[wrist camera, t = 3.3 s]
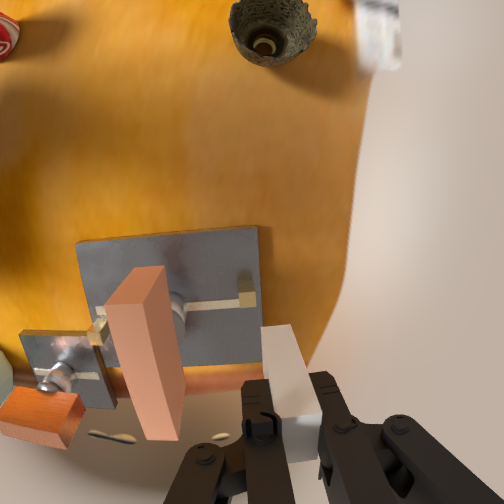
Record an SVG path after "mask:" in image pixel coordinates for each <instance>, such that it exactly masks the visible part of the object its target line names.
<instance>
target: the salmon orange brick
mask: <svg viewBox="0 0 504 504" xmlns="http://www.w3.org/2000/svg"><path fill="white" fill-rule="evenodd" d="M104 308H105V312H106V316H107V320H108V324H109V328H110V332H111V335H112V339H113V343H114V346H115V350H116V353H117V356H118V360H119V363H120V366H121V369H122V373H123V376H124V379H125V382H126V385H127V388H128V391H129V394H130V396H131V399H132V402H133V405H134V408H135V410H136V413H137V416H138V418H139V421H140V424H141V426H142V429H143V431H144V434H145V436H146V439H147V440H178V439H179V432H180V425H181V418H182V411H183V404H184V397H185V391H186V381H185V376H184V371H183V367H182V362H181V357H180V352H179V347H178V346H179V345H180V344H181V343H182V341H183V338H184V334H185V324H184V321H183V319H182V317H181V316H180V315H179V314H178V313H177V312H176V311H174V310H172V309H171V303H170V297H169V291H168V284H167V278H166V271H165V265H161V266H148V267H135V268H134V269H133V270H132V271H131V272H130V273H129V275H128V276H127V277H126V278H125V279H124V281H123V282H122V283H121V284H120V286H119V287H118V288H117V289H116V291H115V292H114V293H113V294H112V295H111V297H110V298H109V299H108V300H107V302H106V303H105V304H104Z"/></svg>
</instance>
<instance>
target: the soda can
mask: <svg viewBox="0 0 504 504" xmlns="http://www.w3.org/2000/svg"><path fill="white" fill-rule="evenodd" d="M19 32H20V28H19V24H18V22H17V21H15V20H14V19H12V18H10V17H8V16H7V15H5V14H3V13H1V12H0V61H1V60H2V59H4V58H5V57H6V56H7V55H8V54H9V53H10V52H11V51H12V49H13V48H14V46H15V45H16V42H17V40H18V37H19Z"/></svg>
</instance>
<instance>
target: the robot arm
mask: <svg viewBox="0 0 504 504" xmlns="http://www.w3.org/2000/svg"><path fill="white" fill-rule="evenodd" d="M261 341H262V359H263V373H264V379H260V380H249V381H245V382H244V384H243V386H242V388H241V397H242V414H243V420H242V432H243V434H242V436H241V437H240V438H239V440H237V441H236V442H234V443H232V444H230V445H227V446H224V447H221V448H220V447H219V446H217V445H215V444H211V443H201V444H197V445H194V446H193V447H191V448H190V449H189V450H188V451H187V453H186V455H185V457H184V459H183V461H182V464H181V466H180V468H179V470H178V472H177V474H176V477H175V479H174V481H173V483H172V485H171V488H170V490H169V492H168V494H167V496H166V499H165V501H164V503H163V504H230V503H231V500H232V496H233V495H237V494H240V493H243V492H246V491H247V494H248V504H295V499H294V494H293V489H292V484H291V479H290V474H289V469H288V463H296V462H302V461H308V460H314V459H317V456H318V453H319V456H320V460H321V461H320V468H319V475H318V476H319V477H318V479H319V480H320V479H321V478H323V482H324V485H325V489H326V493H327V496H328V500H329V503H330V504H504V500H503V499H502V498H500V497H499V496H498V495H497V494H496V493H495V492H494V491H493V490H491V489H490V488H489V487H488V486H487V485H486V484H485V483H484V482H482V481H481V480H480V479H479V478H478V477H477V476H476V475H475V474H473V473H472V472H471V471H470V470H469V469H468V468H467V467H466V466H464V464H462V463H461V462H460V461H459V460H458V459H457V458H456V457H455V456H454V455H452V454H451V453H450V452H449V451H448V450H447V449H446V448H445V447H444V446H442V445H441V444H440V443H439V442H438V441H437V440H436V439H435V438H434V437H433V436H431V435H430V434H429V433H428V432H427V431H426V430H425V429H424V428H423V427H422V426H421V425H419V424H418V423H417V422H416V421H415V420H414V419H413V418H411V417H409V416H406V415H393V416H390V417H389V418H387V419H386V420H385V422H384V423H383V424H365V423H362V422H360V421H359V420H358V419H357V418H356V417H354V416H353V415H351V414H350V412H349V409H348V407H347V405H346V403H345V401H344V399H343V396H342V394H341V392H340V390H339V387H338V386H337V383H336V381H335V379H334V377H333V376H332V375H331V374H329V373H328V372H327V371H322V372H315V373H308V371H307V368H306V366H305V363H304V360H303V357H302V355H301V352H300V349H299V346H298V344H297V341H296V338H295V335H294V333H293V330H292V327H291V324H287V325H277V326H266V327H261Z"/></svg>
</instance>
